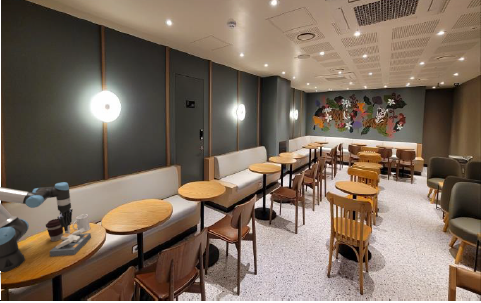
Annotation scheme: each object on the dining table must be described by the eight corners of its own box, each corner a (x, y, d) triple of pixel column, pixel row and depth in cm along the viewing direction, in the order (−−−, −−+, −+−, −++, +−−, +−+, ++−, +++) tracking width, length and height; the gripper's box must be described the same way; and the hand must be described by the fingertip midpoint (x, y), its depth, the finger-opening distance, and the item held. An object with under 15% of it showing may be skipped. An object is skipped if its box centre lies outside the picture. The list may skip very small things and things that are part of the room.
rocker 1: (56, 249, 147) (54, 246, 146) (61, 245, 151) (59, 242, 151) (70, 242, 147) (68, 240, 146) (74, 238, 151) (72, 236, 151)
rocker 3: (68, 238, 158) (66, 236, 158) (72, 235, 163) (70, 232, 162) (81, 233, 159) (79, 230, 158) (84, 230, 163) (83, 227, 163)
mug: (76, 235, 170) (74, 221, 168) (70, 233, 174) (68, 219, 171) (92, 228, 180) (90, 215, 178) (86, 226, 184) (84, 213, 182)
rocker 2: (60, 239, 152) (61, 236, 152) (65, 235, 156) (65, 232, 156) (75, 242, 153) (76, 239, 153) (79, 238, 158) (80, 236, 157)
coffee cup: (49, 237, 167) (46, 219, 164) (66, 233, 173) (63, 216, 170) (47, 244, 159) (43, 225, 156) (64, 239, 164) (61, 221, 162)
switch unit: (50, 256, 145) (49, 249, 144) (70, 239, 165) (69, 233, 164) (74, 254, 147) (73, 247, 146) (91, 237, 167) (90, 231, 166)
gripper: (63, 207, 150) (67, 238, 154) (75, 200, 163) (78, 229, 167) (51, 207, 149) (55, 239, 153) (64, 200, 162) (68, 229, 166)
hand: (67, 233), depth 160 cm, fingers closed
